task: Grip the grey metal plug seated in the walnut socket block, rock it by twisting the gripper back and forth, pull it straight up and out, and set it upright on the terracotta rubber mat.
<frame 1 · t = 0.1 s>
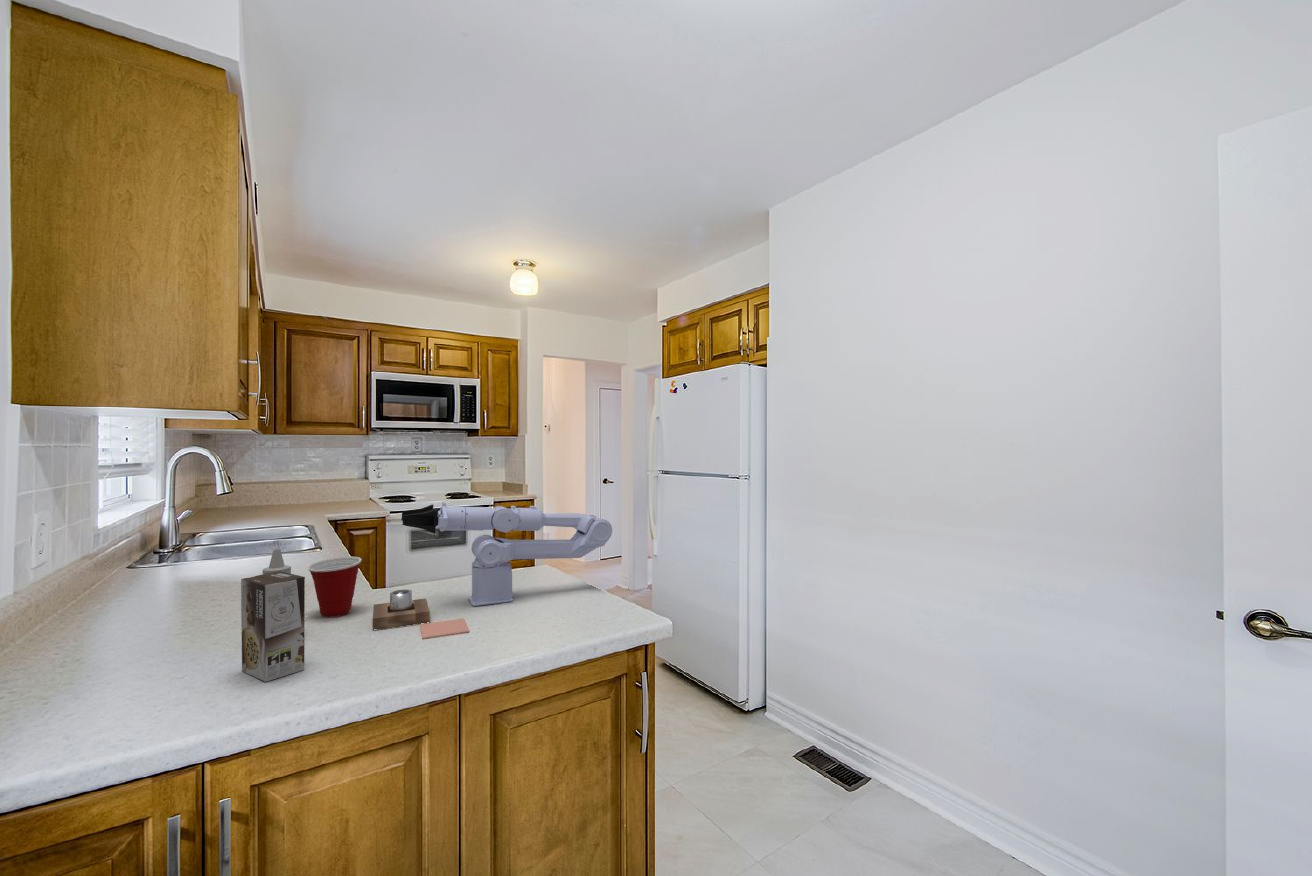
hand: (402, 518, 128), 22 cm above the countertop, tool horizontal, fingers open, 7 cm apart
rubber mat: (444, 629, 116), on the countertop
metal plug: (401, 605, 122), in the socket block
coffee box: (273, 671, 95), on the countertop
squeeze bottle: (276, 641, 110), on the countertop
plastic cup: (334, 614, 126), on the countertop
socket block: (401, 619, 122), on the countertop
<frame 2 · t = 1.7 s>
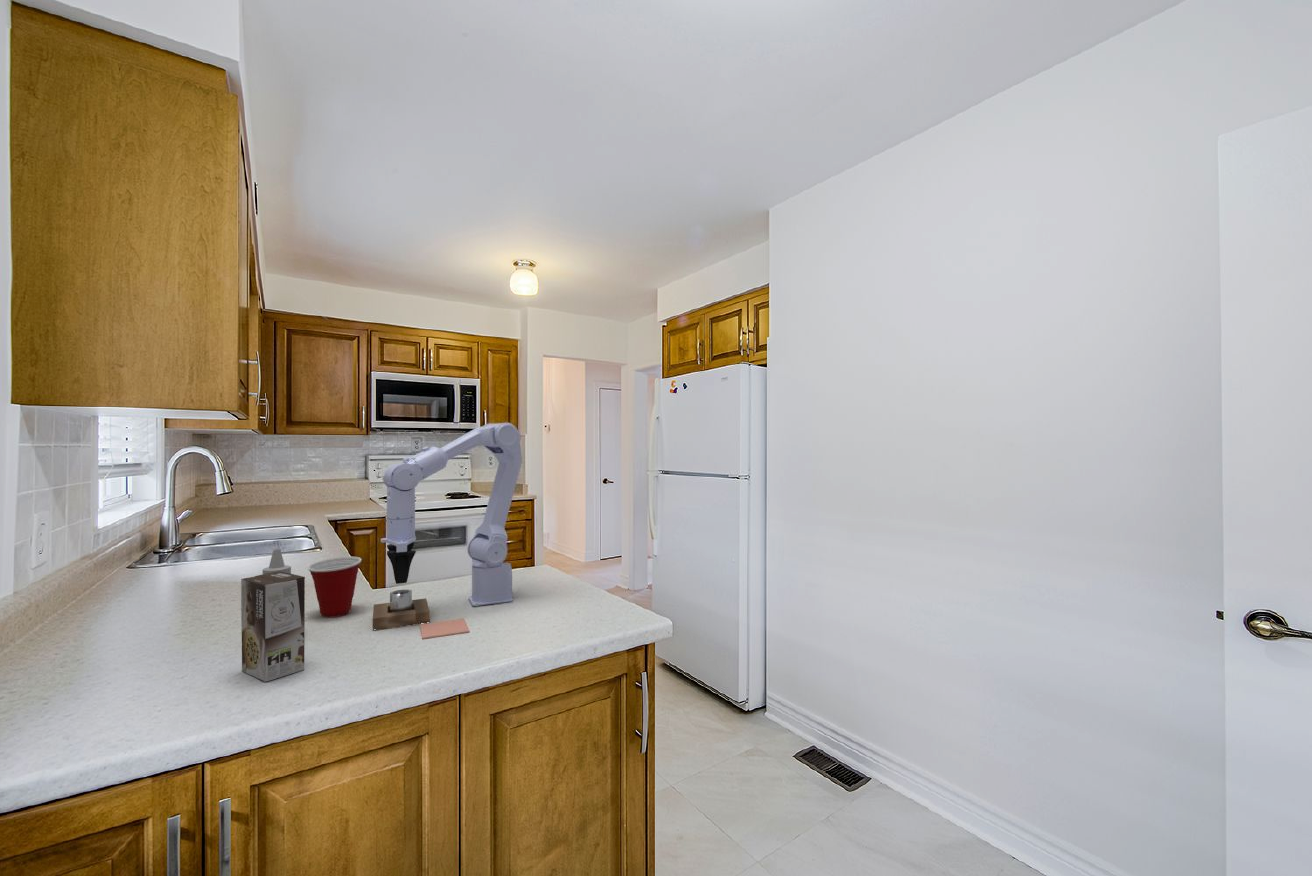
hand: (400, 579, 122), 9 cm above the countertop, tool pointing down, fingers open, 7 cm apart
nothing on the countertop moved.
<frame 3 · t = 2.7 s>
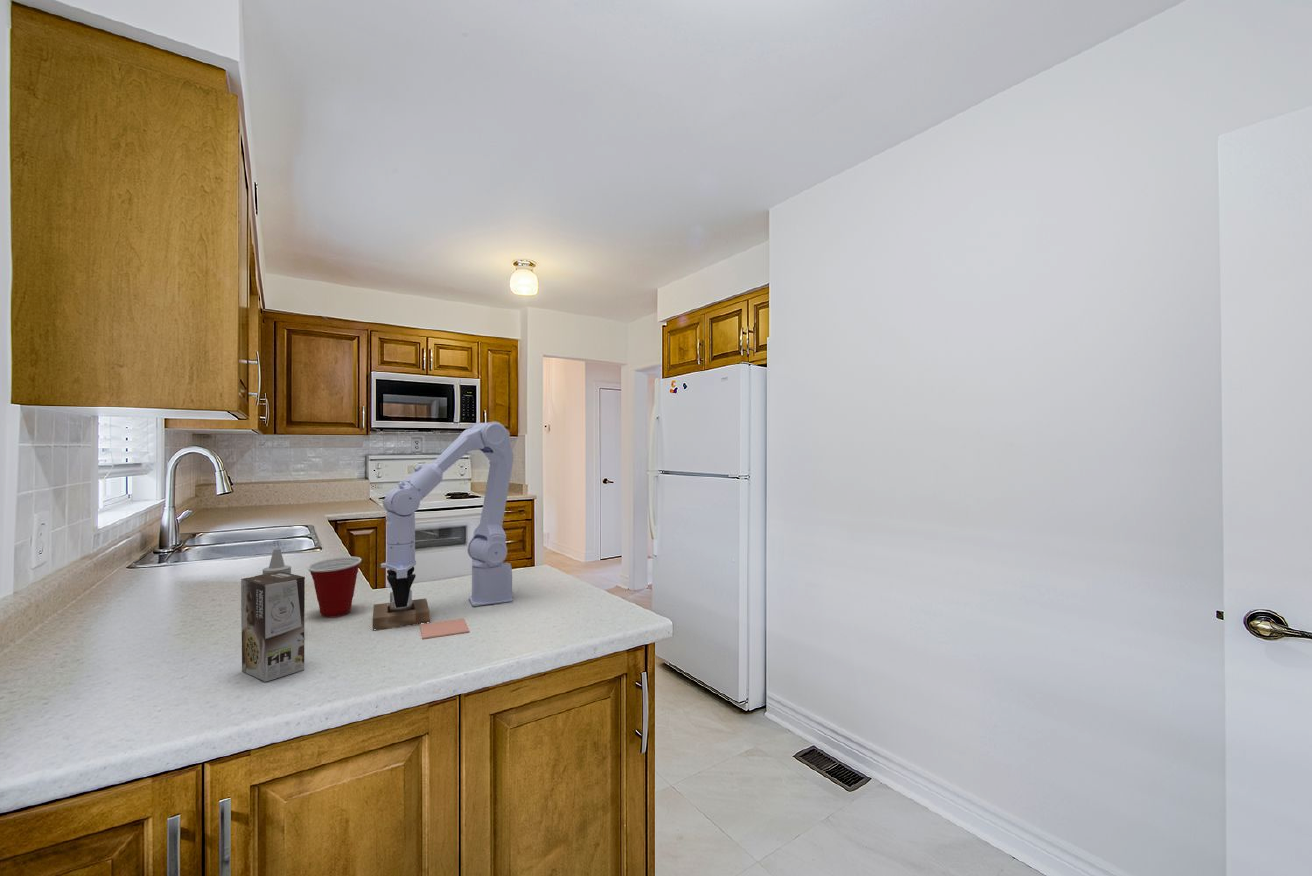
hand: (401, 603, 122), 3 cm above the countertop, tool pointing down, fingers closed on metal plug, 4 cm apart
metal plug: (401, 605, 122), in the socket block, touching gripper
everything else where it was.
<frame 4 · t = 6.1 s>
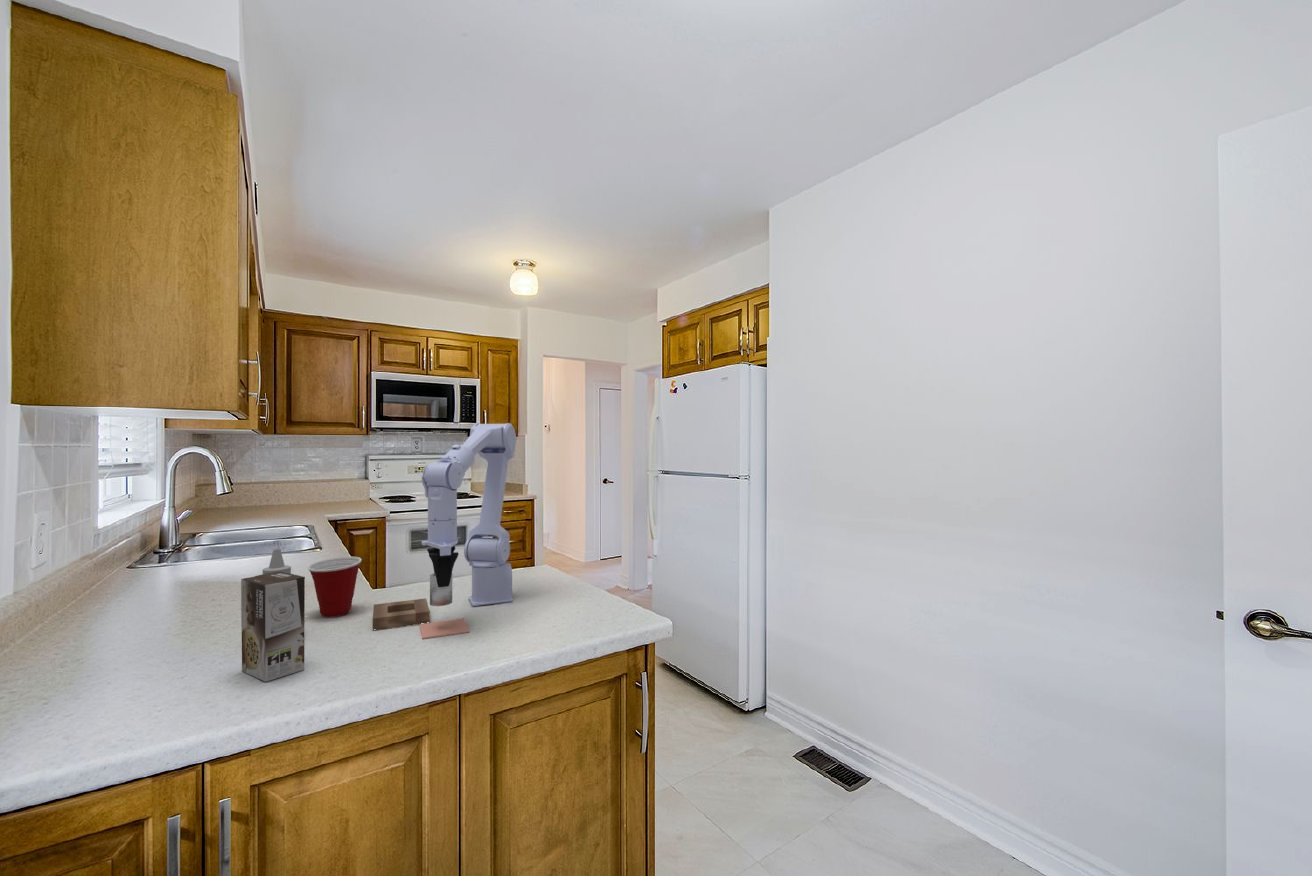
hand: (442, 583, 116), 9 cm above the countertop, tool pointing down, fingers closed on metal plug, 4 cm apart
metal plug: (441, 588, 116), point 8 cm above the countertop, touching gripper
everything else where it was.
when the fingers open (5 cm above the countertop, at t = 7.4 s): metal plug stays where it is, resting on rubber mat.
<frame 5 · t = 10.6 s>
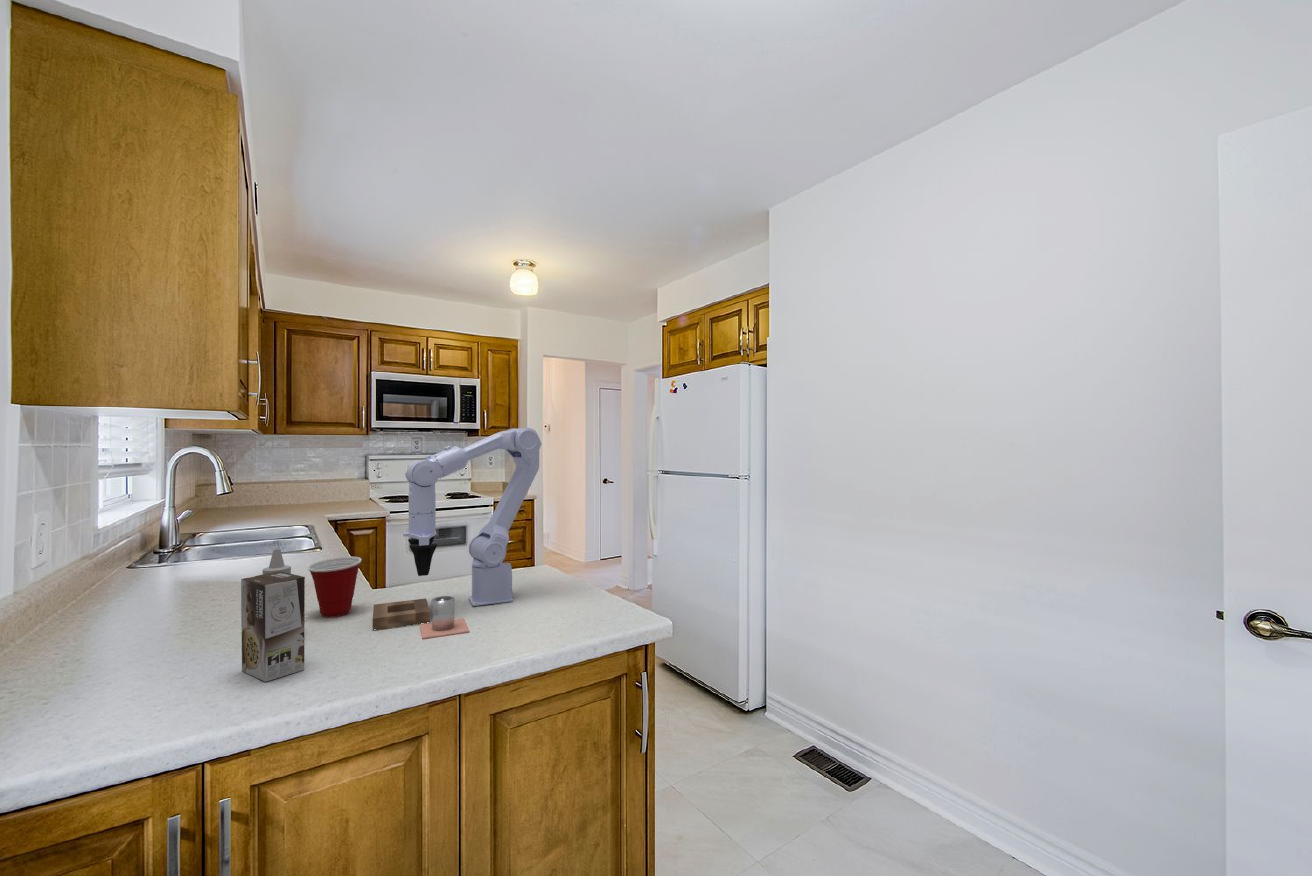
hand: (422, 571, 127), 9 cm above the countertop, tool pointing down, fingers open, 7 cm apart
metal plug: (443, 613, 116), resting on rubber mat
everything else where it was.
at the end: metal plug inside the target area on the rubber mat (0.3 cm from its centre), point 3.4 cm above the rubber mat's base; metal plug tilted 0°; the gripper is holding nothing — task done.
